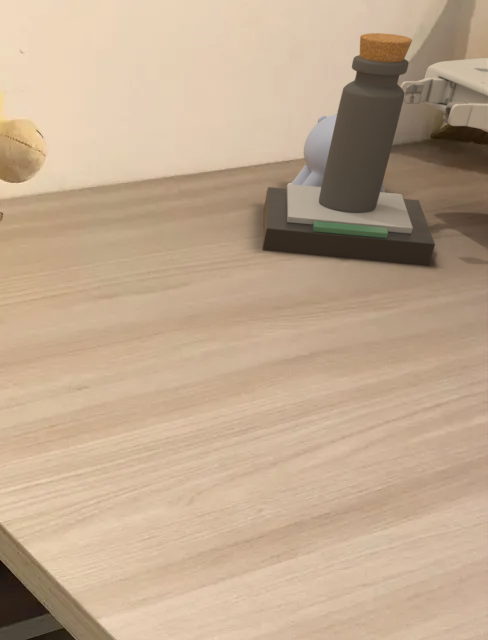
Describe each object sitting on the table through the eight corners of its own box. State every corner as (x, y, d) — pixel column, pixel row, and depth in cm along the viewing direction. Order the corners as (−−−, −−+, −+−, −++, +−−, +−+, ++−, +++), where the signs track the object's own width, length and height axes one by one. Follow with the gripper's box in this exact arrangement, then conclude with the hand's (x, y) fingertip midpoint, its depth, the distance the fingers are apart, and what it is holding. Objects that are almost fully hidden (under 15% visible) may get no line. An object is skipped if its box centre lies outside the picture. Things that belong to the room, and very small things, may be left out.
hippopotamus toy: (369, 179, 125) (391, 92, 119) (394, 217, 114) (419, 122, 108) (280, 174, 126) (297, 87, 120) (295, 211, 114) (314, 116, 108)
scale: (412, 223, 112) (420, 194, 110) (427, 269, 101) (437, 237, 99) (263, 209, 114) (268, 181, 113) (261, 253, 103) (267, 221, 101)
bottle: (342, 215, 104) (382, 44, 94) (306, 198, 108) (341, 33, 98) (388, 209, 105) (432, 41, 96) (351, 194, 110) (390, 30, 100)
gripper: (603, 164, 97) (467, 165, 95) (489, 114, 112) (370, 114, 111) (632, 88, 93) (491, 89, 91) (509, 47, 108) (386, 47, 107)
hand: (424, 102), depth 101 cm, fingers open, 8 cm apart
